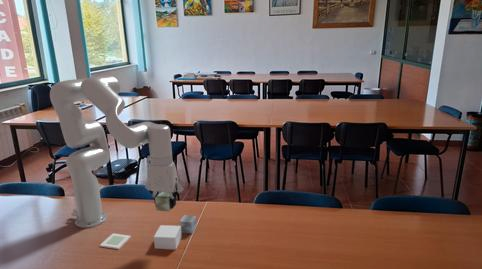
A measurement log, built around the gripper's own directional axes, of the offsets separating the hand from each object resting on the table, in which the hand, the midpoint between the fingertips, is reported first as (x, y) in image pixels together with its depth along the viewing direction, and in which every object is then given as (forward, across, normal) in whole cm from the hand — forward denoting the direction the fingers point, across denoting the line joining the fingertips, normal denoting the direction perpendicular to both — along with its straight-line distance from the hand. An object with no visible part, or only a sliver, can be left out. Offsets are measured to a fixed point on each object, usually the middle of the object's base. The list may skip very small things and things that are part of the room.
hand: (165, 206), depth 120 cm
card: (+15, -20, -4) cm, 25 cm away
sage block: (+1, 0, 0) cm, 1 cm away
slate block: (+15, +4, +10) cm, 19 cm away
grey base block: (+16, 0, 0) cm, 16 cm away
